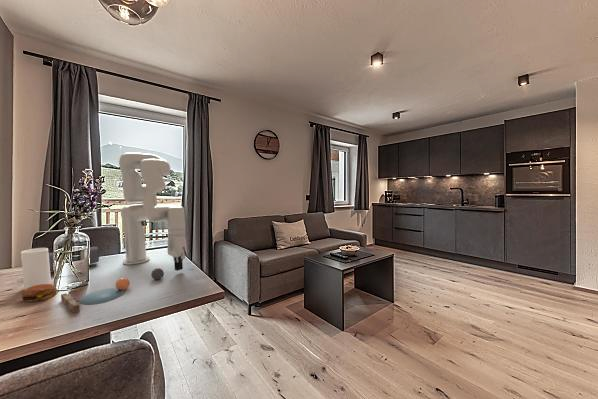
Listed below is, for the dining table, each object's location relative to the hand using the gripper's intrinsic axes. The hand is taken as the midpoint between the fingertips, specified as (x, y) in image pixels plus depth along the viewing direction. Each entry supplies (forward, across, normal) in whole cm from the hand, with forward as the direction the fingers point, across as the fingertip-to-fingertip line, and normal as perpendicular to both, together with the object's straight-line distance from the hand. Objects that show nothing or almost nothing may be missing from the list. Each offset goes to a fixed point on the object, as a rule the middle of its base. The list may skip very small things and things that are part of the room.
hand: (178, 269), depth 128 cm
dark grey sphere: (-1, 0, -10) cm, 10 cm away
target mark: (+2, 0, -31) cm, 31 cm away
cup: (+2, -34, -44) cm, 56 cm away
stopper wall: (+2, 0, -41) cm, 41 cm away
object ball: (-1, 0, -24) cm, 24 cm away
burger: (+2, -19, -46) cm, 50 cm away
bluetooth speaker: (+2, -52, -29) cm, 60 cm away
